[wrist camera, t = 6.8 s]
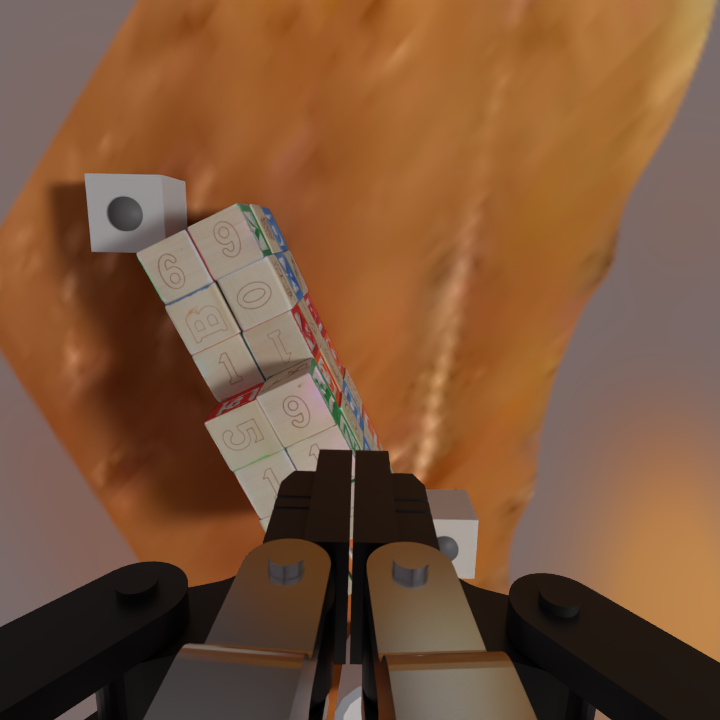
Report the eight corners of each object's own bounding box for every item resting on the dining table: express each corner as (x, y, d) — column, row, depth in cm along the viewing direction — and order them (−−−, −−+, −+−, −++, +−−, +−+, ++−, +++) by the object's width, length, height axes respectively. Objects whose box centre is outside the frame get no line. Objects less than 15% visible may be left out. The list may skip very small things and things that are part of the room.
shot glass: (425, 678, 45) (437, 758, 38) (344, 688, 45) (341, 769, 39) (416, 607, 44) (426, 677, 37) (331, 618, 44) (326, 689, 37)
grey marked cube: (117, 180, 36) (82, 173, 32) (185, 181, 36) (160, 174, 32) (123, 249, 37) (90, 251, 33) (189, 250, 37) (165, 253, 33)
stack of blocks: (187, 245, 37) (106, 252, 25) (269, 206, 37) (226, 194, 25) (321, 505, 42) (306, 615, 30) (396, 474, 41) (412, 574, 29)
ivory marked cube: (406, 488, 41) (412, 520, 37) (465, 489, 41) (479, 521, 37) (404, 541, 42) (410, 578, 38) (462, 542, 42) (474, 579, 38)
